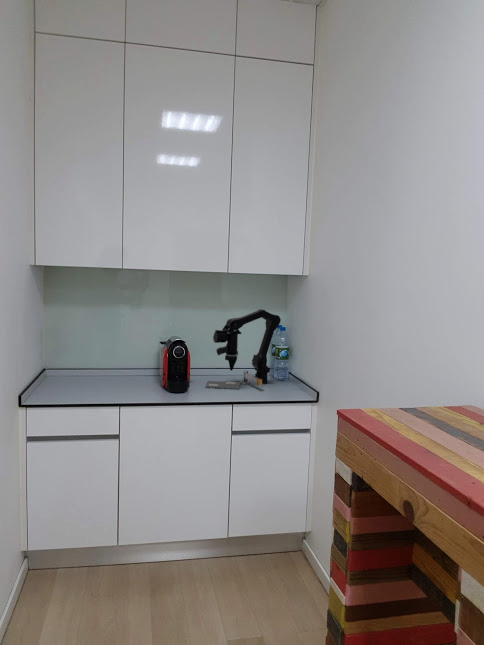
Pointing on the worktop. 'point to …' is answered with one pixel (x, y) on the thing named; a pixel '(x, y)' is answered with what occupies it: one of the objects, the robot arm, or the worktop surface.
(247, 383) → the base
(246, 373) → the swing arm
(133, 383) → the worktop surface
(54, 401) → the worktop surface
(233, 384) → the board
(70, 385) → the worktop surface
